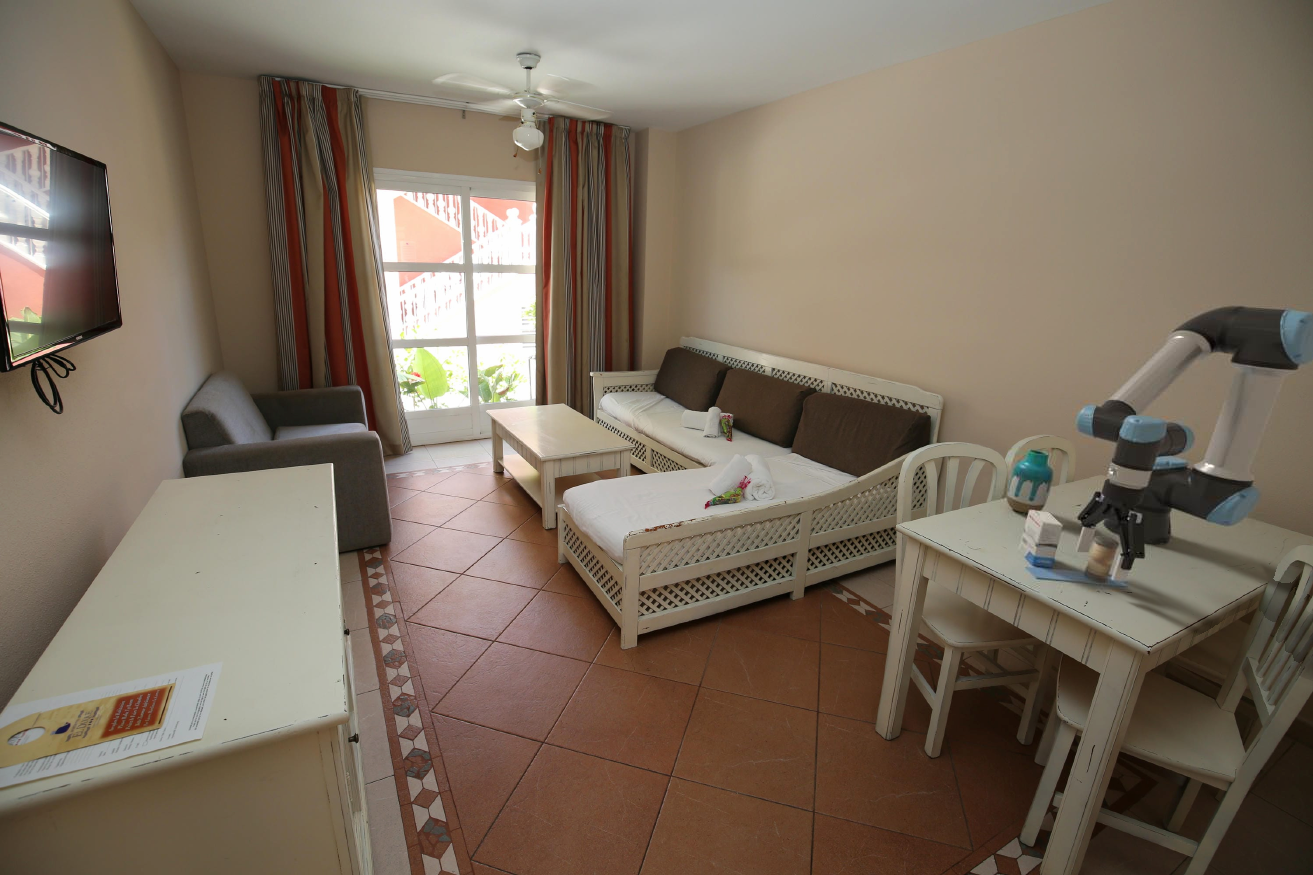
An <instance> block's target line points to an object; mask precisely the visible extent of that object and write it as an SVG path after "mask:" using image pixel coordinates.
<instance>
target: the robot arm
mask: <svg viewBox="0 0 1313 875" xmlns="http://www.w3.org/2000/svg"><path fill="white" fill-rule="evenodd" d="M1215 353H1216V354H1217V353H1221V354H1222V353H1223V354H1228V355H1232V357H1231V360H1230V362H1229V364H1231V365H1232V367H1233V368H1234V369H1235V373H1234V375H1233V378H1232V380H1231V383H1230V386H1229V389H1228V392H1227V394H1226V398H1225V400H1224V403H1223V406H1222V408H1221V411H1220V412H1219V413H1220V414H1219V416H1218V419H1217V422H1216V425H1215V426H1214V427H1215V428H1214V430H1213V433H1212V436H1211V439H1210V442H1209V444H1208V447H1207V450H1206V452H1205V455H1204V458H1203V460H1202V461H1199V462H1197V463H1194V464H1193V465H1192V468H1190V467H1189V462H1188V460H1186V459H1184V458H1180V457H1176V456H1177V455H1178V456H1179V455H1180V454H1184V453H1186V452H1187V451H1189V450H1190V449H1191V448H1192V447H1193V446H1194V444H1195V442H1196V438H1195V433H1194V432H1193V430H1192V428H1190V427H1189V426H1188V425H1186V424H1184V423H1180V422H1173V421H1171V422H1170V421H1168V422H1166V421H1165V420H1163V419H1160V418H1156V417H1154V416H1153V417H1152V416H1147V415H1142V414H1143V413H1144V412H1145V411H1146V410H1147V409H1148V408H1149V407H1150V406H1151V405H1153V404H1154V403H1155V401H1157V399H1159V398H1160V397H1161V396H1162V395H1163V394H1164V393H1165V392H1166V391H1167V390H1168V389H1169V388H1170V387H1171V386H1172V385H1174V383H1175V382H1177V381H1178V380H1179V379H1180V378H1181V376H1183V375H1184V373H1186V372H1187V371H1188V370H1189V369H1190V368H1191V367H1192V366H1193V365H1194V364H1195V363H1197V362H1198V361H1202V360H1203V361H1204V360H1205V359H1207V358H1208V357H1209V356H1210V355H1212V354H1215ZM1312 361H1313V313H1312V312H1307V311H1300V310H1294V309H1279V308H1266V307H1254V306H1243V305H1228V306H1222V307H1217V308H1213V309H1211V310H1208V311H1205V312H1203V313H1200V314H1199V315H1196V316H1194V317H1192V318H1190V319H1189V320H1187V321H1185V322H1183V323H1182V324H1180V325H1179V326H1178V327H1176V328H1175V329H1174V330H1173V331H1172V332H1171V333H1170V334H1169V335H1168V336H1167V337H1166V339H1165V344H1164V346H1163V347H1161V349H1160V350H1159V351H1157V352H1156V353H1155V354H1154V355H1153V356H1152V357H1151V358H1150V359H1148V360H1147V362H1146V363H1145V364H1144V365H1142V367H1141V368H1140V369H1138V371H1137V372H1135V373H1134V375H1132V376H1131V377H1130V378H1129V379H1128V380H1127V381H1126V382H1125V383H1124V384H1123V385H1122V386H1121V387H1120V388H1119V389H1118V390H1117V391H1116V392H1114V393H1113V395H1111V396H1110V397H1109V399H1108V400H1106V401H1105V402H1104V403H1103V404H1101V405H1100V406H1099V405H1094V404H1090V405H1086V406H1084V407H1082V408H1081V410H1080V411H1079V413H1078V414H1077V416H1076V420H1075V425H1076V429H1077V430H1078V431H1079V432H1080V433H1081V434H1083V435H1087V436H1090V437H1093V438H1094V439H1095V438H1097V439H1101V440H1104V441H1108V442H1111V443H1114V444H1115V449H1114V452H1113V455H1112V458H1111V462H1110V465H1109V468H1108V471H1107V474H1106V478H1107V479H1105V480H1104V482H1103V487H1102V490H1101V491H1098V490H1097V491H1095V492H1094V493H1093V496H1092V499H1091V500H1090V501H1089V502H1088V503H1087V504H1086V506H1085V507H1084V508H1083V509H1082V511H1081V512H1080V513H1079V514H1078V515H1077V517H1076V519H1077V520H1078V521H1080V525H1081V529H1080V531H1079V538H1078V541H1077V543H1076V547H1075V552H1078V553H1089V552H1090V549H1091V547H1092V546H1091V545H1092V542H1093V541H1094V538H1095V537H1094V536H1095V533H1096V530H1097V529H1096V528H1097V525H1098V524H1100V523H1101V522H1102V521H1103V526H1104V527H1105V528H1106V529H1107V530H1108V531H1110V532H1112V533H1113V534H1116V535H1118V537H1119V541H1120V542H1119V543H1120V546H1121V550H1122V552H1121V553H1119V554H1118V557H1117V559H1116V562H1115V564H1114V568H1113V572H1112V573H1111V574H1112V577H1111V579H1112V580H1115V581H1123V582H1126V581H1127V578H1128V576H1129V572H1130V571H1131V570H1132V568H1133V565H1134V562H1135V559H1140V560H1141V559H1143V560H1144V559H1145V558H1146V550H1145V549H1146V548H1145V545H1146V544H1153V545H1164V544H1168V543H1169V542H1170V540H1171V538H1172V526H1171V525H1172V524H1171V513H1172V510H1176V511H1178V512H1181V513H1184V514H1187V515H1190V516H1193V517H1196V518H1199V519H1202V520H1204V521H1206V522H1208V523H1212V524H1213V523H1214V524H1217V525H1219V526H1220V525H1221V526H1224V527H1230V526H1235V525H1237V524H1239V523H1240V522H1242V521H1243V520H1245V519H1246V518H1247V517H1248V516H1249V515H1250V514H1251V512H1253V510H1254V508H1255V507H1256V506H1257V503H1258V502H1259V501H1260V498H1261V490H1260V489H1259V487H1257V486H1255V485H1253V483H1254V481H1255V479H1256V478H1255V476H1254V475H1253V474H1252V473H1251V470H1250V468H1251V465H1252V463H1253V461H1254V457H1255V455H1256V453H1257V451H1258V448H1259V445H1260V442H1261V439H1262V437H1263V435H1264V432H1265V429H1266V427H1267V424H1268V422H1269V419H1270V416H1271V414H1272V411H1273V409H1274V406H1275V403H1276V401H1277V398H1278V396H1279V394H1280V390H1281V388H1282V385H1283V383H1284V380H1285V378H1286V377H1287V376H1289V375H1292V374H1293V373H1296V372H1298V369H1299V367H1300V365H1306V364H1310V362H1312ZM1174 456H1175V457H1174Z"/></svg>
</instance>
